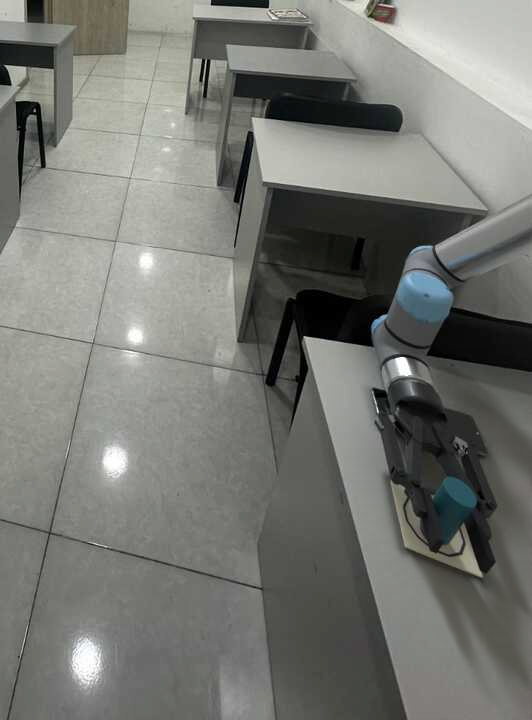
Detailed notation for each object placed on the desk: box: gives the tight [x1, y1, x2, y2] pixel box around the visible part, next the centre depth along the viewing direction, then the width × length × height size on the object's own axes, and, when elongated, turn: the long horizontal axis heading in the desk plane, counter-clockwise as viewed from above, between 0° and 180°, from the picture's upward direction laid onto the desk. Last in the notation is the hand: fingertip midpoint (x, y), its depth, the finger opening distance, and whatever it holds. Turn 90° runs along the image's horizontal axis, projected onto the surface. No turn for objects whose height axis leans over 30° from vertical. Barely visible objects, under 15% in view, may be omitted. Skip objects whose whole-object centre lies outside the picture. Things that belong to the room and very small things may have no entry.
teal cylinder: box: [420, 476, 477, 545], centre depth 65 cm, size 4×4×10 cm
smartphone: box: [370, 386, 490, 457], centre depth 82 cm, size 7×1×16 cm
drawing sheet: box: [389, 479, 484, 579], centre depth 68 cm, size 9×9×1 cm
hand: (462, 555), depth 60 cm, fingers open, 5 cm apart
